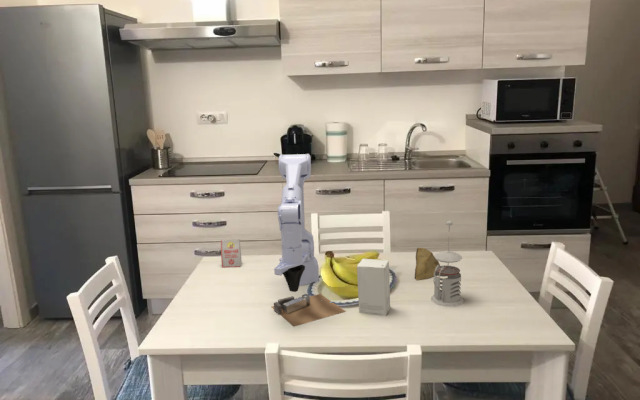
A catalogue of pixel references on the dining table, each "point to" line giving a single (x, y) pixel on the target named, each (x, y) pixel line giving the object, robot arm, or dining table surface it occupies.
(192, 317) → the dining table surface
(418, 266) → the rock
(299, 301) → the swing bar
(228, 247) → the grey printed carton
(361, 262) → the skincare box
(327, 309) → the lock board
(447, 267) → the french press
